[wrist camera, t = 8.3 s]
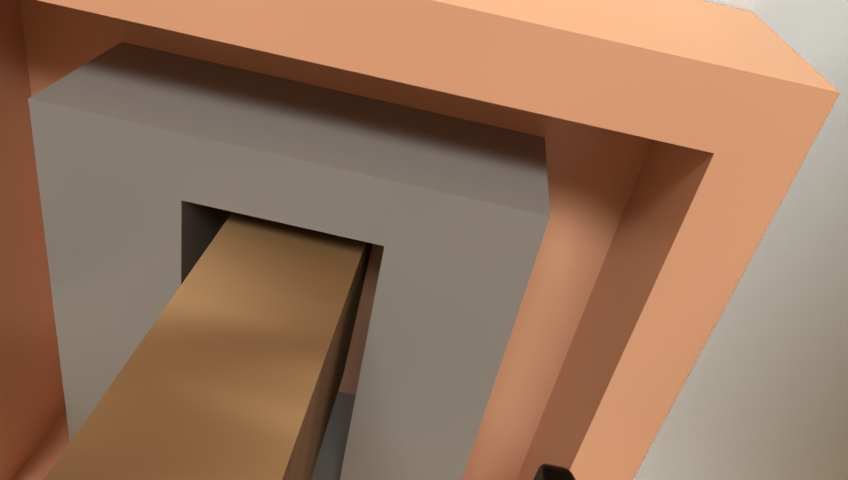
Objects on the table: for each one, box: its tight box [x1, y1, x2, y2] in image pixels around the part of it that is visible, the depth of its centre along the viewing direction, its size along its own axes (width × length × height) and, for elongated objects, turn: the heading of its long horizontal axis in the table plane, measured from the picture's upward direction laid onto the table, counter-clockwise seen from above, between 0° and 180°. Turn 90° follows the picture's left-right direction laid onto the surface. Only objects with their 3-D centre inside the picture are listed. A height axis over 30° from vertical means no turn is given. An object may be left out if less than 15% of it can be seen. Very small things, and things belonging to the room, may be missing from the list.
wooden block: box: [44, 212, 373, 480], centre depth 10 cm, size 2×4×8 cm, turn 167°
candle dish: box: [0, 0, 840, 480], centre depth 12 cm, size 12×12×4 cm
